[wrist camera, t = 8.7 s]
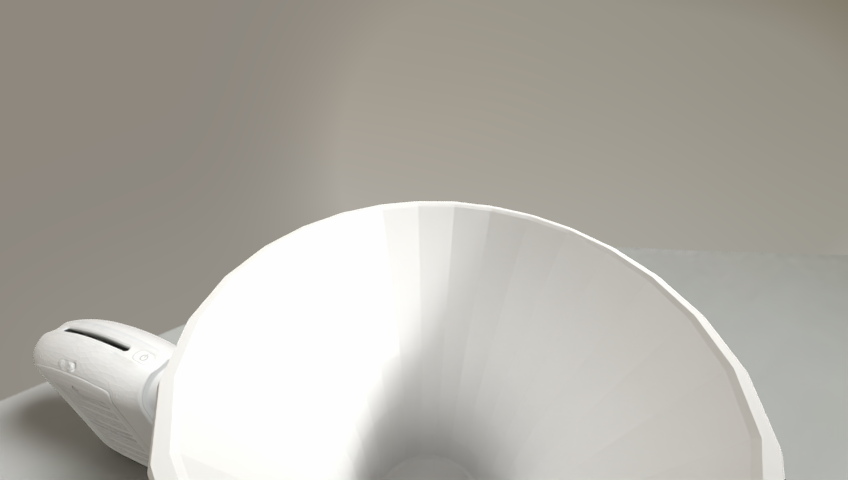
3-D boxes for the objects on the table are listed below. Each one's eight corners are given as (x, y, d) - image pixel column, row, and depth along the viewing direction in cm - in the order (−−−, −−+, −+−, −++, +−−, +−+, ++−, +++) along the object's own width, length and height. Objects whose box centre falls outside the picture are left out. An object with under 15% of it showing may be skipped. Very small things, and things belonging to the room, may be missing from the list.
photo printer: (243, 435, 26) (192, 330, 20) (197, 494, 22) (117, 388, 16) (151, 399, 28) (80, 295, 22) (97, 447, 25) (-6, 339, 19)
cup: (271, 834, 8) (-364, 1126, 1) (319, 430, 17) (261, 206, 10) (620, 715, 10) (1090, 591, 3) (498, 403, 19) (550, 194, 12)
